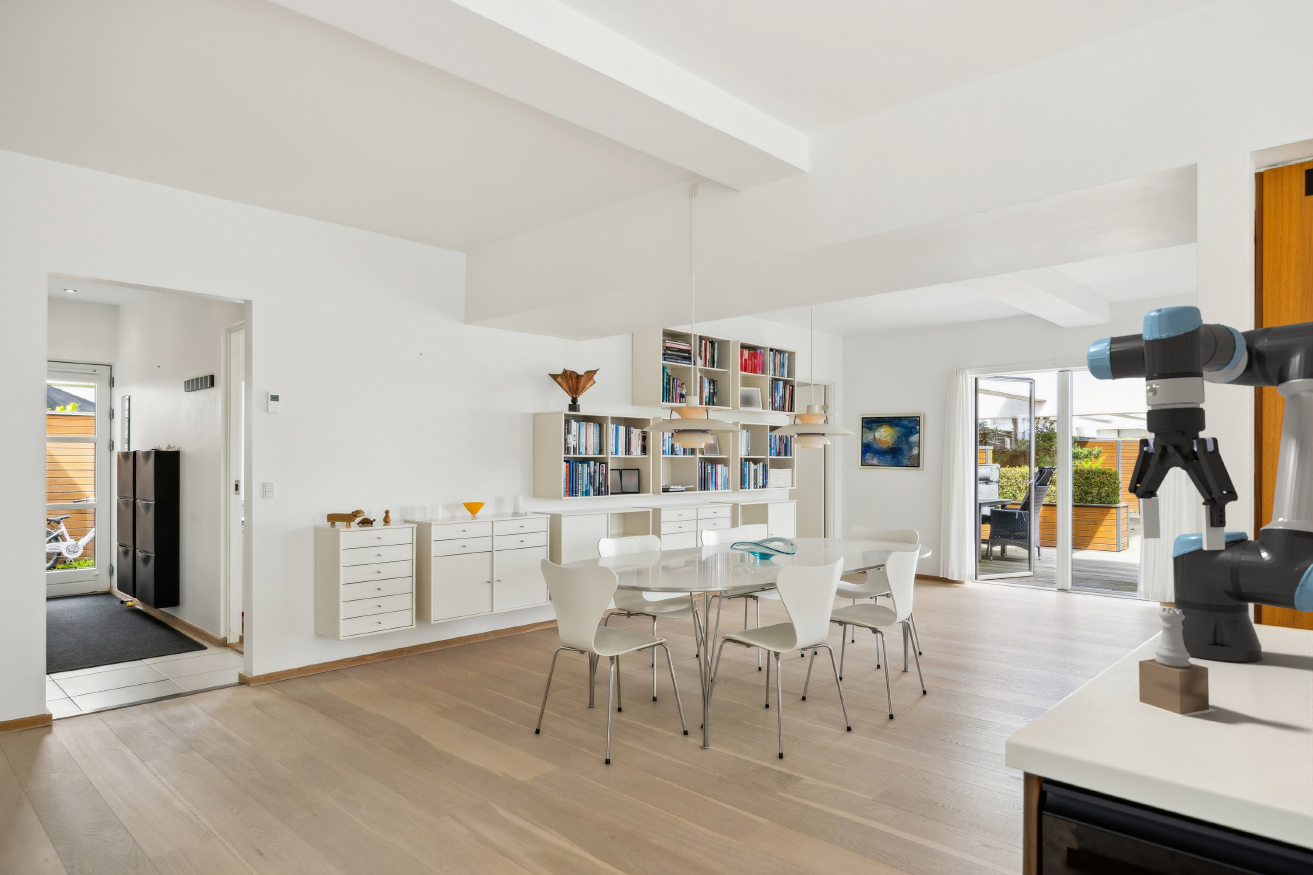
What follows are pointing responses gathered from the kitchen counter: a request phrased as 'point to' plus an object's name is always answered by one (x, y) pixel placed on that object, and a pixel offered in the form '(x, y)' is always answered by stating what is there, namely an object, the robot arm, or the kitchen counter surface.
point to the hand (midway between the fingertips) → (1180, 543)
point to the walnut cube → (1174, 687)
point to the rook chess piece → (1172, 640)
